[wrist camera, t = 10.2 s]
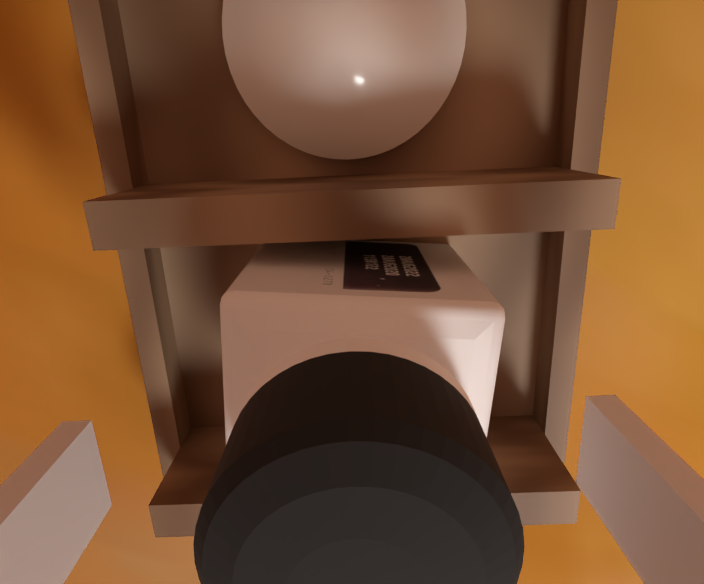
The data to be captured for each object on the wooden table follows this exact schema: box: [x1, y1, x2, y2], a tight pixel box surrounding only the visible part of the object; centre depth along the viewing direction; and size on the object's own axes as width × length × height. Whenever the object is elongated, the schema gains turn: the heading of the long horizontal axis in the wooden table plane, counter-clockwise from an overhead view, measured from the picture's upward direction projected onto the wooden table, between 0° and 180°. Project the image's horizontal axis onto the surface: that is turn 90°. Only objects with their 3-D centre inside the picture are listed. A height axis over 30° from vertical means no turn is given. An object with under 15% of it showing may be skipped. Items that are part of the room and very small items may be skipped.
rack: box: [68, 0, 621, 537], centre depth 18 cm, size 18×24×6 cm
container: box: [194, 240, 524, 584], centre depth 15 cm, size 8×8×13 cm
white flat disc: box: [222, 0, 467, 160], centre depth 17 cm, size 8×8×1 cm
